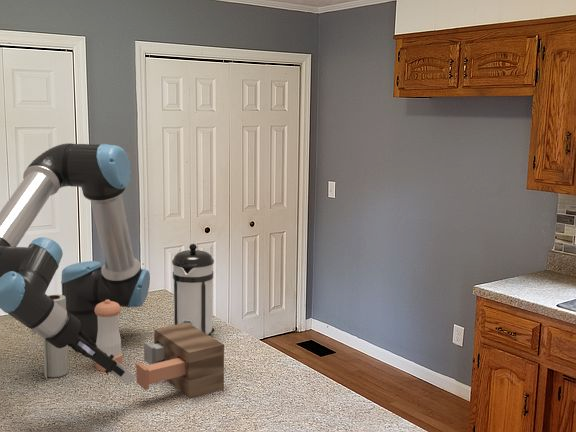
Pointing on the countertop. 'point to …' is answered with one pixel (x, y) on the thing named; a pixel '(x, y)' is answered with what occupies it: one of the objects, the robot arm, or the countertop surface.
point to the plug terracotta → (159, 371)
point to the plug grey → (153, 352)
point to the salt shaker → (108, 331)
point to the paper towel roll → (55, 351)
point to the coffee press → (193, 288)
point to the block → (193, 358)
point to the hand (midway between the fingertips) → (130, 378)
